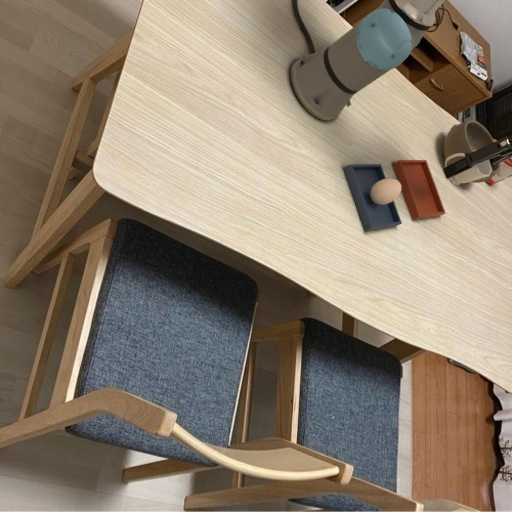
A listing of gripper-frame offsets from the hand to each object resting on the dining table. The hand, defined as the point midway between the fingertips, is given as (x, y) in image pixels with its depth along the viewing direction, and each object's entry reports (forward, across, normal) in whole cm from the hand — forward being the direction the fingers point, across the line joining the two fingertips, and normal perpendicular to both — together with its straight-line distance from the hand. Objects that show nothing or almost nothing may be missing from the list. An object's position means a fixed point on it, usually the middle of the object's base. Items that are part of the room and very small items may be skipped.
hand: (453, 173), depth 140 cm
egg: (+10, -21, -1) cm, 24 cm away
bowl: (+11, +26, +8) cm, 29 cm away
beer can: (+11, +44, +3) cm, 45 cm away
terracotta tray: (+11, 0, 0) cm, 11 cm away
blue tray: (+11, -21, -1) cm, 24 cm away
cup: (+1, 0, 0) cm, 1 cm away
